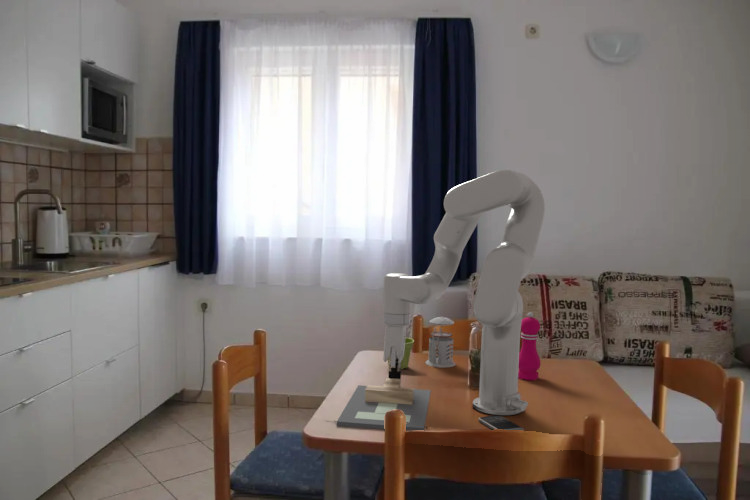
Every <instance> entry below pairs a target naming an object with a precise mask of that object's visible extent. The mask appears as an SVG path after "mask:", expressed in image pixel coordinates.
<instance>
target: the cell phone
mask: <svg viewBox="0 0 750 500" xmlns="http://www.w3.org/2000/svg"><path fill="white" fill-rule="evenodd" d="M478 422H479V423H480V424H482V425H484V426H485V427H486V428H489V429H490V430H492V429H503V430H504V429H505V430H524V431H525V428H523V427H521V426H519V424H516V423H514V422H513V421H511V420H509V419H507V418H505V417H504V416H503V415H494V414H493V415H487V416H480V417H479V418H478Z"/></svg>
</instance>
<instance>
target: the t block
mask: <svg viewBox="0 0 750 500" xmlns="http://www.w3.org/2000/svg"><path fill="white" fill-rule="evenodd" d="M366 386H367V387H366V389H365V401H368V402H382V403H396V404H410V405H412V403H413V394H414V389H415V388H413V387H402V378H401V379H392V378H389V377H386V378H385V381H384V383H383V385H366Z"/></svg>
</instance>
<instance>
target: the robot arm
mask: <svg viewBox="0 0 750 500" xmlns="http://www.w3.org/2000/svg"><path fill="white" fill-rule="evenodd" d="M504 206H509V215H508V217H507V220H506V224H505V226H504V230H503V234H502V238H501V242H500V244H499V245H497V246H496V247H494V248H493V249H492V250H491V251H490V252H489V253H488V254H487V256H486V258H485V259H484V264H483V265H482V266H483V267H482V269H481V273H480V277H479V281H478V285H477V288H476V291H475V295H474V298H473V308H472V309H473V314H474V317H475V318H476V320H477V321H478V322H479V323H480V324H481V325H482V330H481V342H480V344H481V345H480V364H479V366H480V367H479V369H480V370H479V389H478V390H479V392H478V397H475V398H474V399H473V401H472V407H473V408H474V409H475V410H477V411H479V412H481V413H485V414H489V415H493V416H494V415H499V416H512V415H518V414H520V413H522V412H524V411H526V409H527V407H528V405H529V403H528V401H526V400H522V398H521V393H520V392H518V388H519V387H518V386H519V378H518V370H519V368H518V367H519V353H520V349H521V348H520V344H521V343H520V341H521V332H522V331H521V323H522V319H523V314H524V301H523V300H524V299H523V298H522V295H521V293H520V292H519V288H520V285H521V282H522V280H523V279H525V278H526V277H527V276H528V274H529V273H531V272H530V271H531V269H532V266H533V260H534V257H535V253H536V249H537V245H538V242H539V237H540V234H541V230H542V226H543V222H544V219H545V218H544V217H545V211H546V210H545V209H546V208H545V207H546V206H545V199H544V196H543V193H542V191H541V189H540V187H539V186H538V185H537V183H536V182H534V181H533V180H532V179H531V178H530V177H529V176H527V175H526V174H524V173H522V172H520V171H516V170H511V169H499V170H495V171H493V172H489V173H487V174H484V175H482V176H480V177H477V178H474V179H472V180H468V181H466V182H463V183H461V184H458V185H456V186H453V187H452V188H451V189H449V190H448V191H447V193H446V194H445V196H444V199H443V208H444V211H445V214H444V216H443V217H442V220H441V221H440V223H439V225H438V227H437V229H436V231H434V234H433V242H434V247H435V248H434V249H435V250H434V255H433V257H432V260H431V262H430V264H429V266H428V268H427V270H425V273H424V274H421V275H416V276H415V275H414V276H410V275H409V274H407V273H402V272H400V273H399V272H393V273H387V274H386V275H385V276H384V278H383V298H382V299H383V302H382V325H383V326H385V330H384V339H385V341H384V340H383V341H384V343H383V344H384V345H383V362H384V363H386V362H388V359H389V365H388V370H389V371H388V378H392V379H401V380H402V374H401V373H402V369H400V368H401V361H402V359H403V357H404V351H405V338H406V334H407V333H406V332H407V329H406V328H407V327H409V326H410V325H411V312H412V311H411V307H412V304H414V305H425V304H428V303H431V302H432V301H435V300H439V298H441V297H443V296H444V294H445V292H447V289H448V287H449V285H450V283H452V280H453V278H454V276H455V274H456V272H457V270H458V267H459V265H460V261H461V259H462V255H463V251H464V249H465V247H466V246H467V243H468V241H469V240H470V238H471V236H472V234H473V233H474V231H475V229H476V227H477V225H478V224H479V222H480V220H481V219H482V217H483V214H485V213H487V212H490V211H493V210H495V209H497V208H501V207H504Z"/></svg>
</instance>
